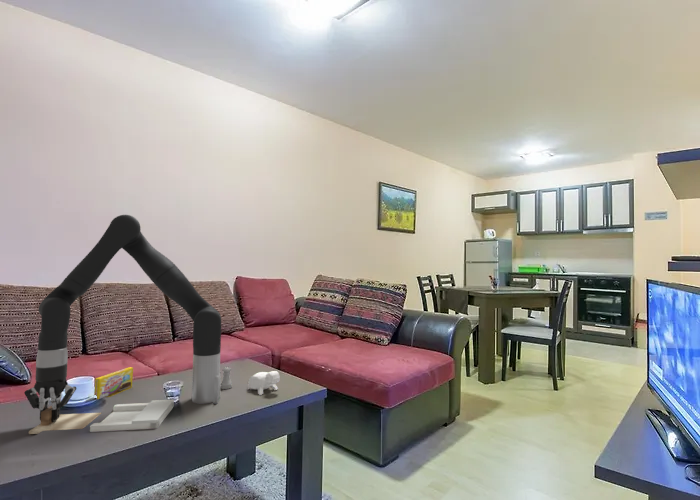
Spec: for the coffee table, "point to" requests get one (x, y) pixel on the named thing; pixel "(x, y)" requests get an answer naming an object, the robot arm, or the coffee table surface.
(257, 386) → the white elephant figurine
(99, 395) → the candy box
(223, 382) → the rook chess piece
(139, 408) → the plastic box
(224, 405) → the coffee table surface
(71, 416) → the cover plate
